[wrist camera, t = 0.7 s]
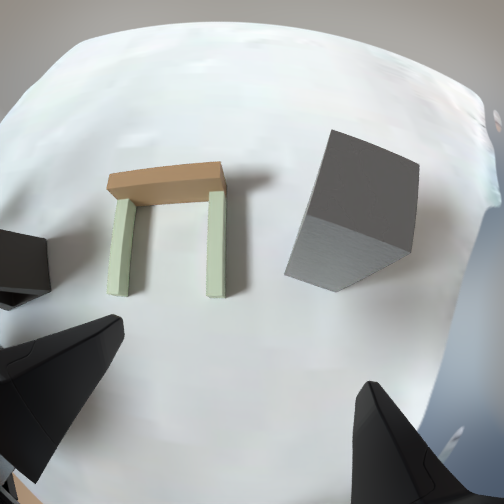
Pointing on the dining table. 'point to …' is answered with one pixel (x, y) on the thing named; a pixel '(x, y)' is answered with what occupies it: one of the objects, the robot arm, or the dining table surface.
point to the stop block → (355, 214)
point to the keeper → (168, 192)
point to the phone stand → (22, 269)
